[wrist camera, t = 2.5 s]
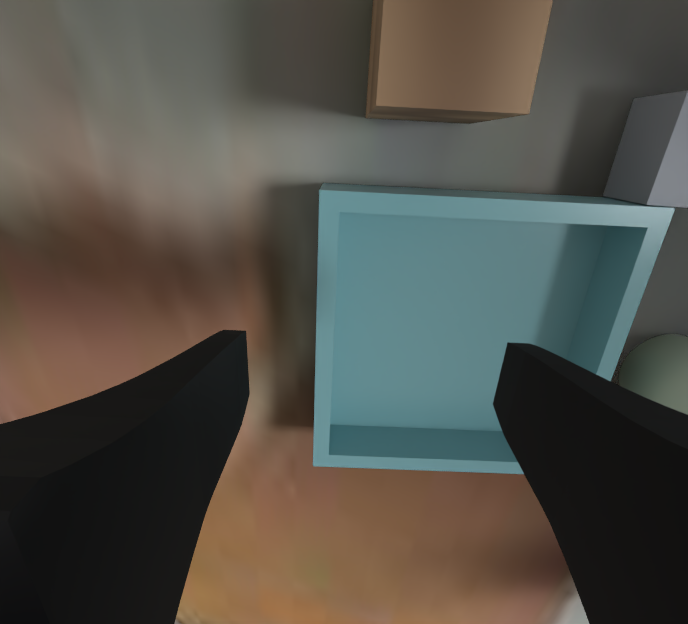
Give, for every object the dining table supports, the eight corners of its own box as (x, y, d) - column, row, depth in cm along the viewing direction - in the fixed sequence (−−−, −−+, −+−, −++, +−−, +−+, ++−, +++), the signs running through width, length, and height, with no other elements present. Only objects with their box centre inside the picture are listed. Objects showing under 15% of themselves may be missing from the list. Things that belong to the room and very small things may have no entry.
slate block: (722, 105, 17) (796, 98, 14) (684, 201, 18) (743, 211, 16) (631, 98, 17) (688, 89, 14) (600, 195, 18) (646, 204, 16)
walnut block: (489, -5, 15) (571, -89, 10) (468, 123, 17) (528, 113, 11) (373, -12, 15) (390, -101, 10) (365, 117, 17) (375, 105, 11)
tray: (625, 198, 18) (675, 207, 15) (548, 437, 24) (575, 475, 21) (323, 182, 18) (319, 190, 15) (316, 428, 23) (313, 466, 21)
